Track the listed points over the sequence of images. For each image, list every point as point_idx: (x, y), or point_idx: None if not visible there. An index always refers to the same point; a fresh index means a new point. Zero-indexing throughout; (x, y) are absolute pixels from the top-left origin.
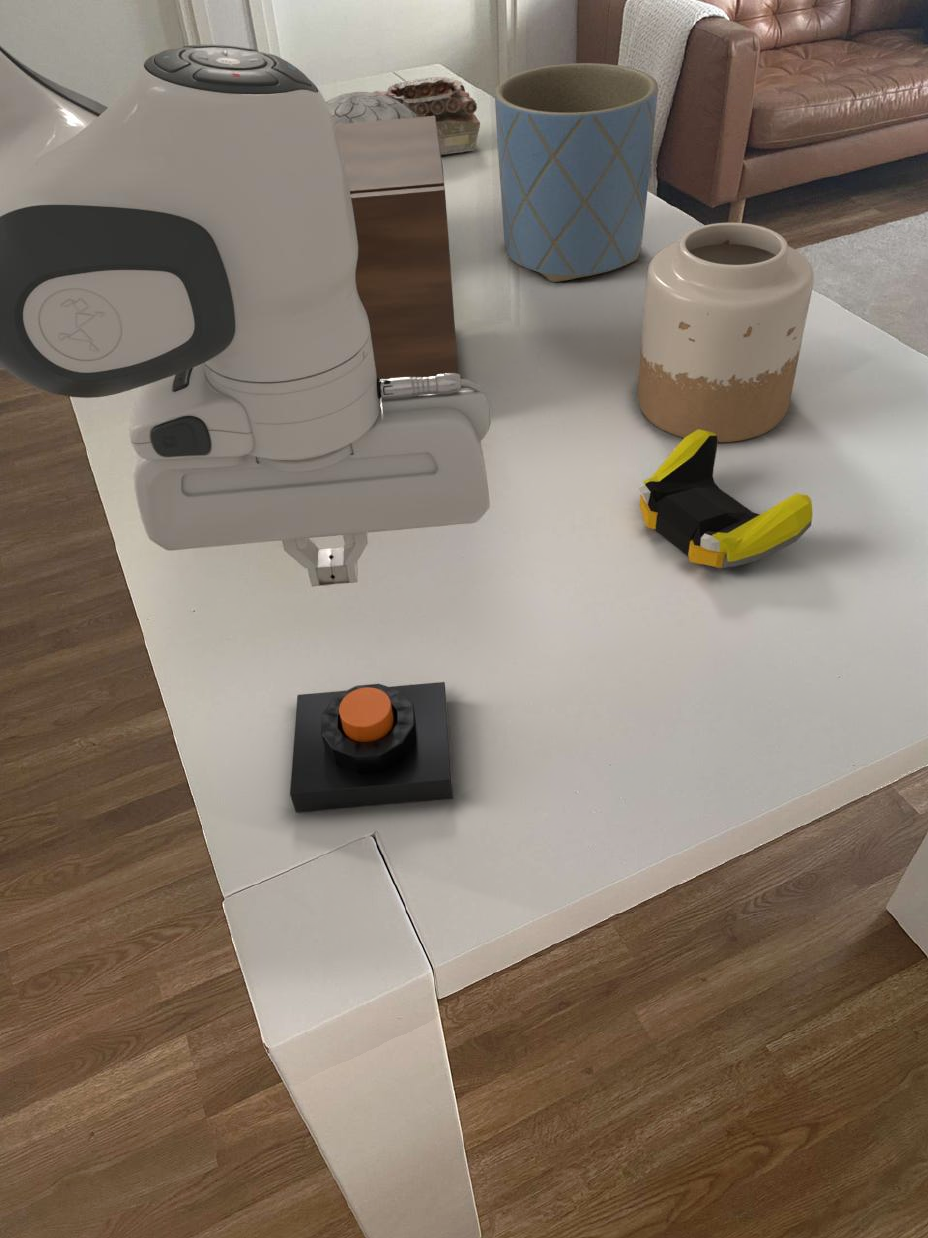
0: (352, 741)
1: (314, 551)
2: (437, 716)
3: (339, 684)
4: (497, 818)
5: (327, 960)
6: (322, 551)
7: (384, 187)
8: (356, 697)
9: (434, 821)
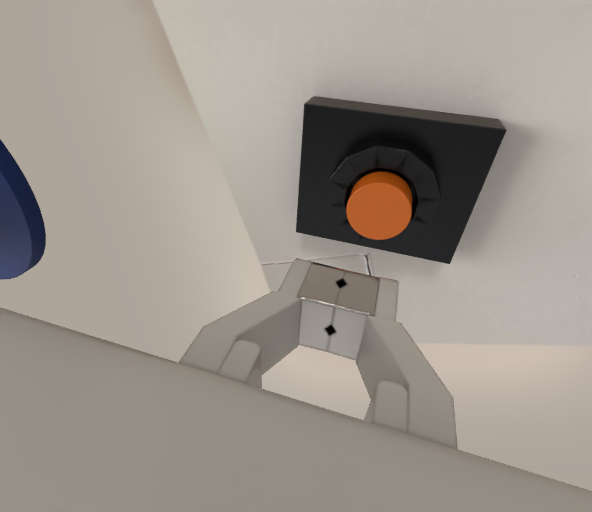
0: None
1: (289, 324)
2: (469, 186)
3: (363, 50)
4: (479, 274)
5: None
6: (311, 309)
7: None
8: (370, 197)
9: (421, 260)
